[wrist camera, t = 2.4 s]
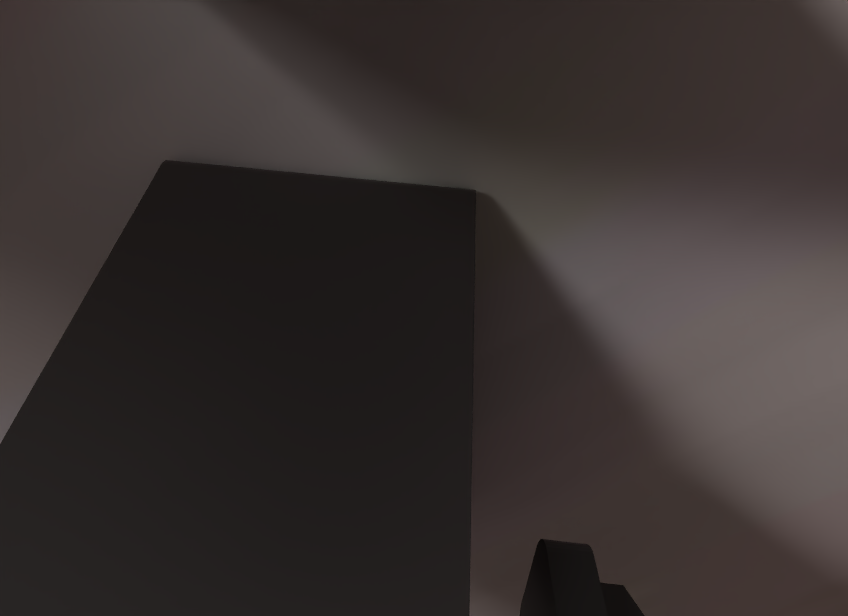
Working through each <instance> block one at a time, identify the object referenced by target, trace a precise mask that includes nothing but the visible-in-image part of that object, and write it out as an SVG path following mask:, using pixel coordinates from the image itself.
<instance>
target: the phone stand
mask: <svg viewBox="0 0 848 616" xmlns="http://www.w3.org/2000/svg"><path fill="white" fill-rule="evenodd" d="M475 214H476V190H469V189H459V188H449V187H438V186H428V185H418V184H407V183H397V182H387V181H376V180H366V179H356V178H345V177H335V176H324V175H314V174H304V173H293V172H283V171H273V170H262V169H252V168H242V167H231V166H221V165H210V164H200V163H190V162H179V161H169V160H165V161H164V162H163V163H162V164H161V166H160V168H159V169H158V171H157V173H156V175H155V176H154V178H153V180H152V182H151V183H150V185H149V187H148V189H147V190H146V192H145V194H144V196H143V197H142V199H141V201H140V202H139V204H138V206H137V208H136V209H135V211H134V213H133V215H132V216H131V218H130V220H129V222H128V223H127V225H126V227H125V228H124V230H123V232H122V234H121V235H120V237H119V239H118V241H117V242H116V244H115V246H114V248H113V249H112V251H111V253H110V255H109V256H108V258H107V260H106V261H105V263H104V265H103V267H102V268H101V270H100V272H99V274H98V275H97V277H96V279H95V281H94V282H93V284H92V286H91V287H90V289H89V291H88V293H87V294H86V296H85V298H84V300H83V301H82V303H81V305H80V307H79V308H78V310H77V312H76V314H75V315H74V317H73V319H72V320H71V322H70V324H69V326H68V327H67V329H66V331H65V333H64V334H63V336H62V338H61V340H60V341H59V343H58V345H57V347H56V348H55V350H54V352H53V353H52V355H51V357H50V359H49V360H48V362H47V364H46V366H45V367H44V369H43V371H42V373H41V374H40V376H39V378H38V379H37V381H36V383H35V385H34V386H33V388H32V390H31V392H30V393H29V395H28V397H27V399H26V400H25V402H24V404H23V406H22V407H21V409H20V411H19V412H18V414H17V416H16V418H15V419H14V421H13V423H12V425H11V426H10V428H9V430H8V432H7V433H6V435H5V437H4V439H3V440H2V442H1V444H0V616H469V603H470V538H471V473H472V408H473V343H474V279H475Z"/></svg>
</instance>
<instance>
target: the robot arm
mask: <svg viewBox="0 0 848 616" xmlns="http://www.w3.org/2000/svg"><path fill="white" fill-rule="evenodd" d="M520 616H644V614H643V613H642V612H641V610H640V609H639V607H638V606H637V604H636V603H635V602H634V600H633V599H632V597H631V596H630V594H629V593H628V592H627V590H626V589H625V587H624V586H623V585H615V584H607V583H600V580H599V576H598V571H597V567H596V563H595V559H594V555H593V551H592V549H591V547H590V546H589V545H587V544H580V543H571V542H562V541H553V540H545V539H541V540H540V541H539V542H538V545H537V548H536V552H535V555H534V559H533V563H532V566H531V570H530V574H529V577H528V581H527V585H526V588H525V592H524V596H523V599H522V604H521V610H520Z"/></svg>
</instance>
